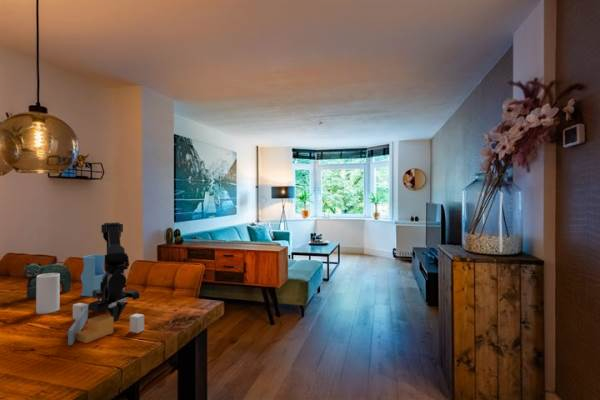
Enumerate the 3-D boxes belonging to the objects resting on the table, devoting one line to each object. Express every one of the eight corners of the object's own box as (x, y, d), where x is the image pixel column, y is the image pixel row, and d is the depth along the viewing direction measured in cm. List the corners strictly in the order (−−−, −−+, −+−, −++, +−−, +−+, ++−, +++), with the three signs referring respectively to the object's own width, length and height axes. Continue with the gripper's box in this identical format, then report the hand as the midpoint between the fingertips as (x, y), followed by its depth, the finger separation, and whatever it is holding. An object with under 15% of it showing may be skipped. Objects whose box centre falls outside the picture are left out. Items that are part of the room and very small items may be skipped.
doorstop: (103, 329, 126) (103, 314, 126) (113, 332, 123) (113, 316, 123) (76, 339, 117) (76, 323, 117) (86, 343, 114) (86, 326, 114)
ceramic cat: (24, 300, 159) (24, 259, 159) (21, 297, 163) (22, 257, 163) (72, 291, 174) (72, 254, 174) (68, 289, 178) (69, 253, 178)
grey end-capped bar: (88, 318, 136) (88, 306, 136) (72, 344, 112) (72, 330, 112) (81, 319, 135) (81, 307, 135) (63, 346, 111) (63, 331, 111)
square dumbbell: (79, 316, 139) (79, 302, 139) (144, 330, 126) (144, 314, 126) (72, 319, 136) (72, 304, 136) (137, 333, 123) (137, 317, 123)
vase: (93, 296, 166) (93, 257, 166) (80, 295, 167) (80, 256, 167) (105, 292, 174) (106, 255, 173) (93, 291, 175) (93, 254, 175)
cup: (32, 314, 140) (32, 277, 140) (41, 308, 148) (42, 273, 148) (54, 313, 143) (54, 276, 142) (62, 306, 150) (62, 272, 150)
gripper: (121, 275, 140) (121, 311, 141) (78, 286, 123) (77, 327, 123) (140, 278, 136) (140, 315, 136) (98, 289, 119) (98, 332, 119)
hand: (115, 321), depth 129 cm, fingers closed
